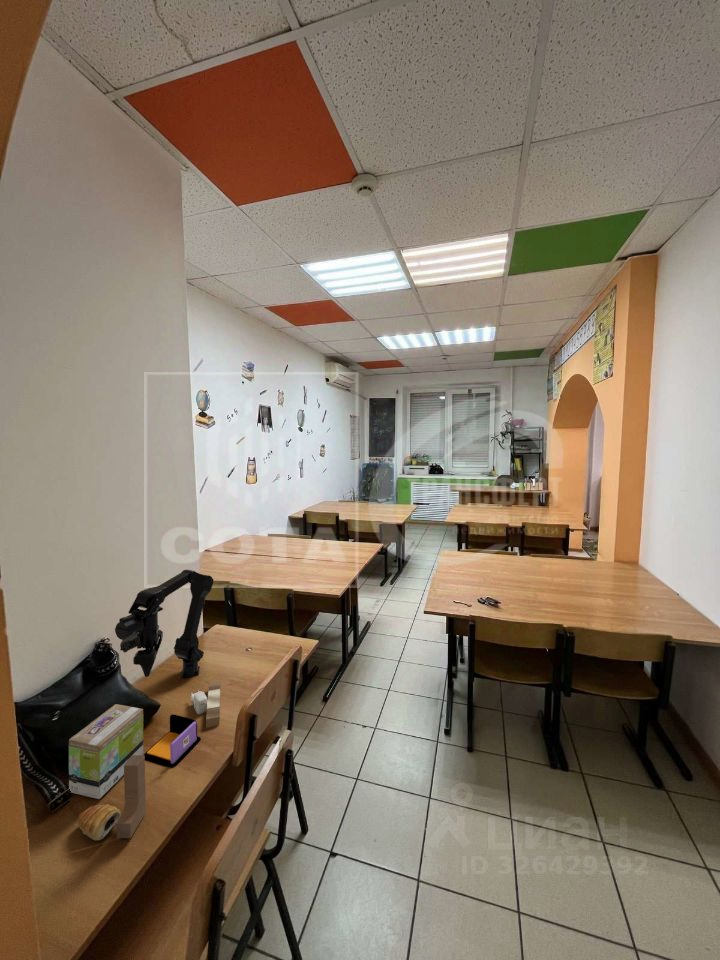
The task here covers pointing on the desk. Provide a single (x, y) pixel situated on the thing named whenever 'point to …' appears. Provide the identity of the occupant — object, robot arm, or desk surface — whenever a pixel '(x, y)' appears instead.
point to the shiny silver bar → (213, 705)
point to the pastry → (98, 820)
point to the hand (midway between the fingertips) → (149, 669)
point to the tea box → (104, 750)
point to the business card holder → (174, 742)
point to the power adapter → (199, 702)
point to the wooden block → (133, 796)
